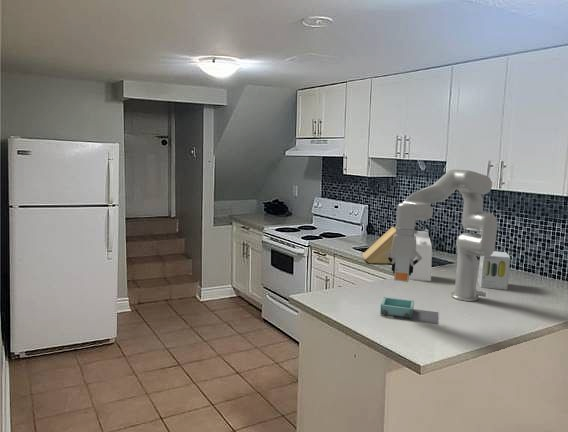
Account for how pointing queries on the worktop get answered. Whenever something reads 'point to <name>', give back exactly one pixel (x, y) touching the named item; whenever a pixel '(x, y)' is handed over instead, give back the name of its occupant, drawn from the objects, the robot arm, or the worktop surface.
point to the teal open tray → (397, 307)
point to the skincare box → (402, 269)
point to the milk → (424, 265)
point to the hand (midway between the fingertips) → (402, 273)
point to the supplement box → (494, 270)
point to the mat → (420, 316)
